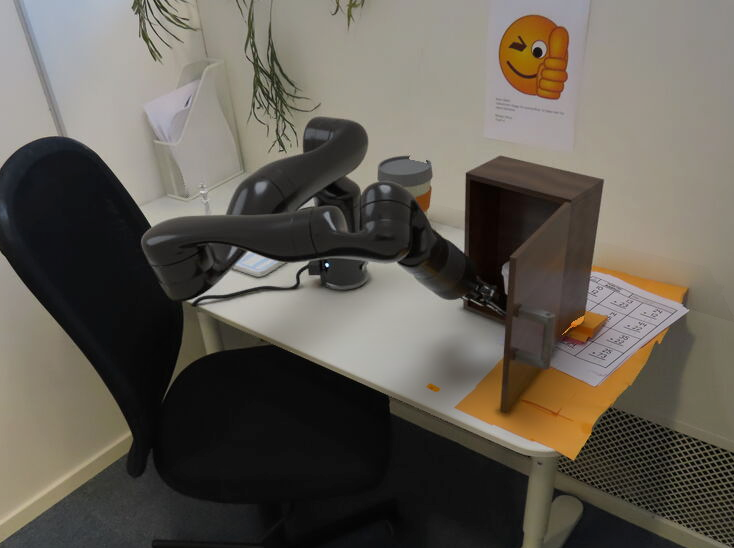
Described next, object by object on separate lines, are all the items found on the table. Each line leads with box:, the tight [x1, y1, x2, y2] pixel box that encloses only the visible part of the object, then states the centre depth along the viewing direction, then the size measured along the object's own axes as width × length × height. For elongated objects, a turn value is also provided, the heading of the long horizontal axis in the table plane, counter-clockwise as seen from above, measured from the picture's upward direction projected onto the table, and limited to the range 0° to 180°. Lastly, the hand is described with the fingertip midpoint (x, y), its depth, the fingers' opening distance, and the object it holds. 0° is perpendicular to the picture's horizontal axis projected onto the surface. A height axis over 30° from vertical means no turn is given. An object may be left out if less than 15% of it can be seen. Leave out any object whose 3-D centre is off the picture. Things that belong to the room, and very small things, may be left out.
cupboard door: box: [499, 202, 572, 414], centre depth 104 cm, size 6×20×27 cm, turn 146°
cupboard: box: [462, 155, 605, 346], centre depth 121 cm, size 10×20×27 cm, turn 46°
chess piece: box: [198, 182, 214, 215], centre depth 170 cm, size 5×5×10 cm
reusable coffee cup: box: [377, 155, 434, 218], centre depth 159 cm, size 12×13×15 cm
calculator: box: [232, 251, 286, 278], centre depth 155 cm, size 13×20×2 cm, turn 53°
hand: (484, 301), depth 116 cm, fingers open, 8 cm apart
